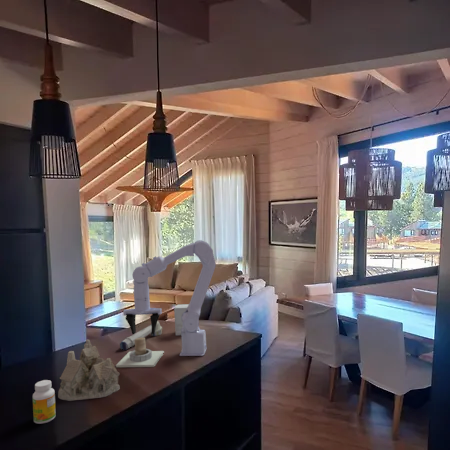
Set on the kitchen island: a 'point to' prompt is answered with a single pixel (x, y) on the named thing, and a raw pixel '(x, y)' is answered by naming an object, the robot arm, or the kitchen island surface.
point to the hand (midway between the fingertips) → (143, 333)
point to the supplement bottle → (44, 402)
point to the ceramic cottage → (88, 376)
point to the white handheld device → (140, 336)
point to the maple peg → (140, 346)
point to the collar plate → (140, 364)
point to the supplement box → (179, 317)
